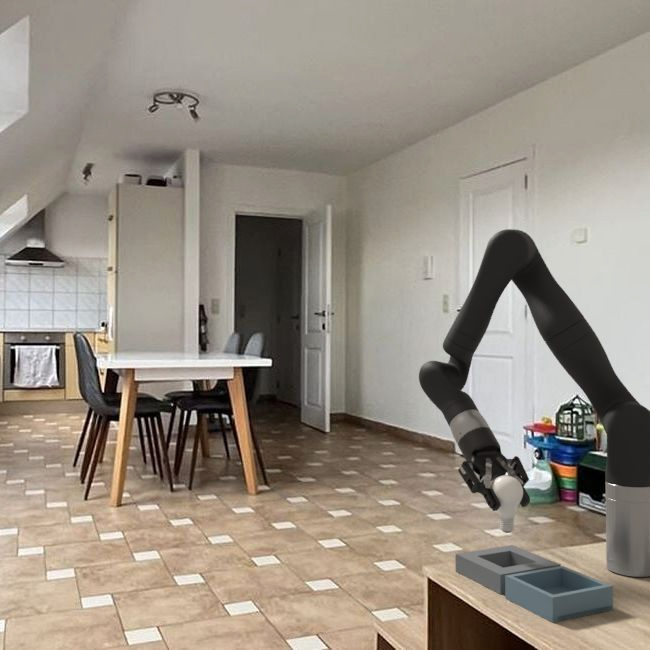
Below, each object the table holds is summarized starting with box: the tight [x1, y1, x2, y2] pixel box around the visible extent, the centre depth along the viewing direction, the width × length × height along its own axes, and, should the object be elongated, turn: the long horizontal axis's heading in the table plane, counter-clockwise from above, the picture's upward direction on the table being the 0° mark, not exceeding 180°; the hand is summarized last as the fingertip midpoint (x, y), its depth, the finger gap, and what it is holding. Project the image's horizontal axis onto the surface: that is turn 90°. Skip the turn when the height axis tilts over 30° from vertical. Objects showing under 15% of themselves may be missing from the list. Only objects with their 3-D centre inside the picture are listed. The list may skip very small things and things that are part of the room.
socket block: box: [455, 544, 562, 595], centre depth 138 cm, size 14×14×4 cm
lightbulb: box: [490, 474, 523, 534], centre depth 139 cm, size 6×6×11 cm
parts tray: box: [504, 565, 614, 623], centre depth 124 cm, size 13×12×4 cm
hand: (512, 506), depth 137 cm, fingers closed on lightbulb, 6 cm apart
